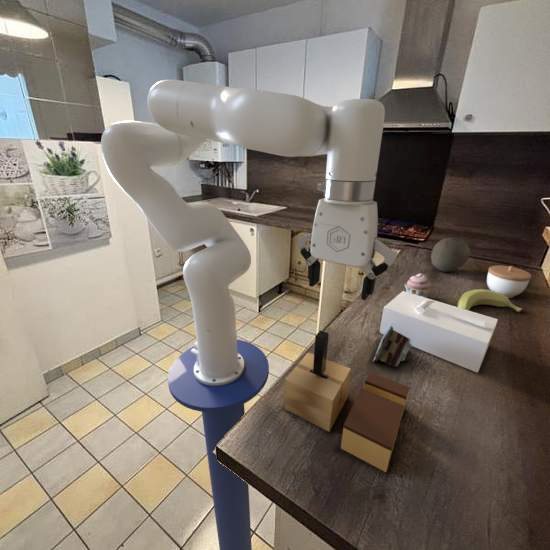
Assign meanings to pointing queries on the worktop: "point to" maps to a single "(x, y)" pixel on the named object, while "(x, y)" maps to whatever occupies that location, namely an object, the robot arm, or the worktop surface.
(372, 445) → the loaf cake
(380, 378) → the cake slice
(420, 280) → the cupcake
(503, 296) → the banana
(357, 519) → the worktop surface
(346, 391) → the knife block
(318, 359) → the knife
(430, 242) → the worktop surface
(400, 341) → the chocolate cake
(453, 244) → the cantaloupe
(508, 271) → the lidded bowl
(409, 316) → the tissue box
